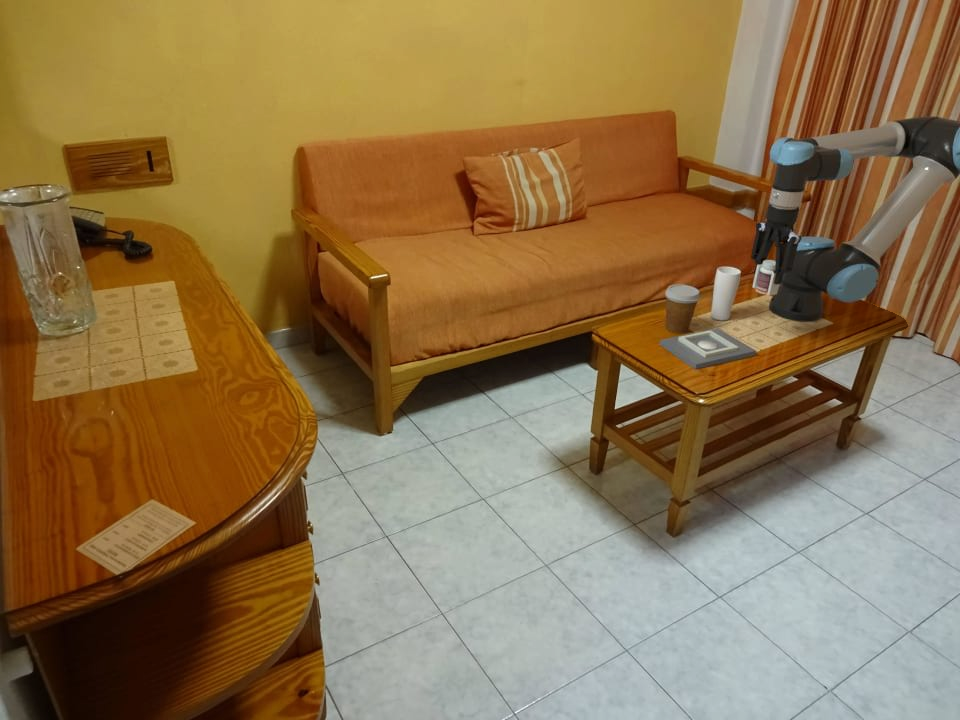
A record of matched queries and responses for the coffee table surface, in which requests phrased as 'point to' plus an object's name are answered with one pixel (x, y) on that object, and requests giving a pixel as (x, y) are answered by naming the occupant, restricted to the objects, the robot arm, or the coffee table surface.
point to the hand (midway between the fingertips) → (764, 290)
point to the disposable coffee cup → (680, 307)
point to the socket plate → (707, 348)
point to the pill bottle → (765, 276)
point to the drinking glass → (724, 292)
